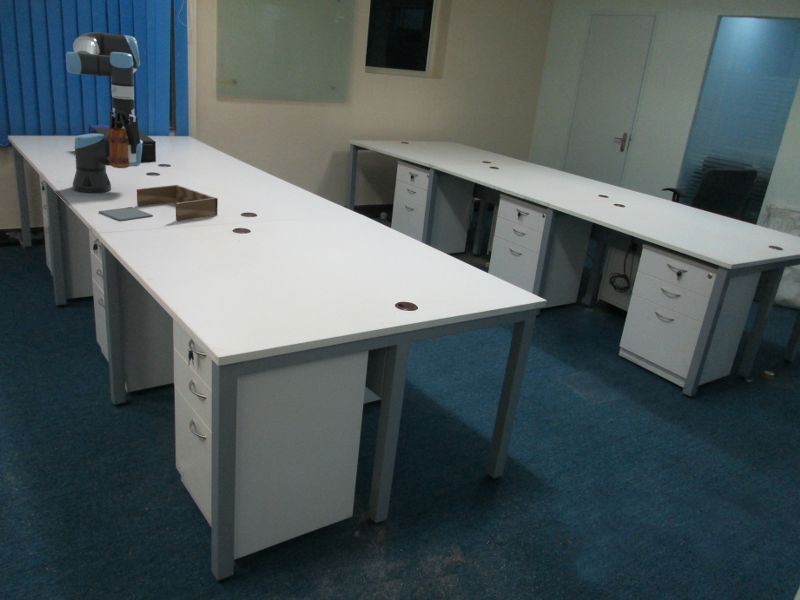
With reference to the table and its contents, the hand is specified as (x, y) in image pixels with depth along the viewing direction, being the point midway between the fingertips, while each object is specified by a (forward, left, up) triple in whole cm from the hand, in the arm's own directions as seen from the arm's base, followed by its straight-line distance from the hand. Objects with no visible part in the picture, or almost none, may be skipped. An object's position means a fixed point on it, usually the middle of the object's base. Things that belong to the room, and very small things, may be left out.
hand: (125, 159), depth 243 cm
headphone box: (-104, +64, -22) cm, 124 cm away
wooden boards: (+4, +20, -21) cm, 29 cm away
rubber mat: (0, 0, -21) cm, 21 cm away
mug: (-1, 0, -3) cm, 3 cm away
